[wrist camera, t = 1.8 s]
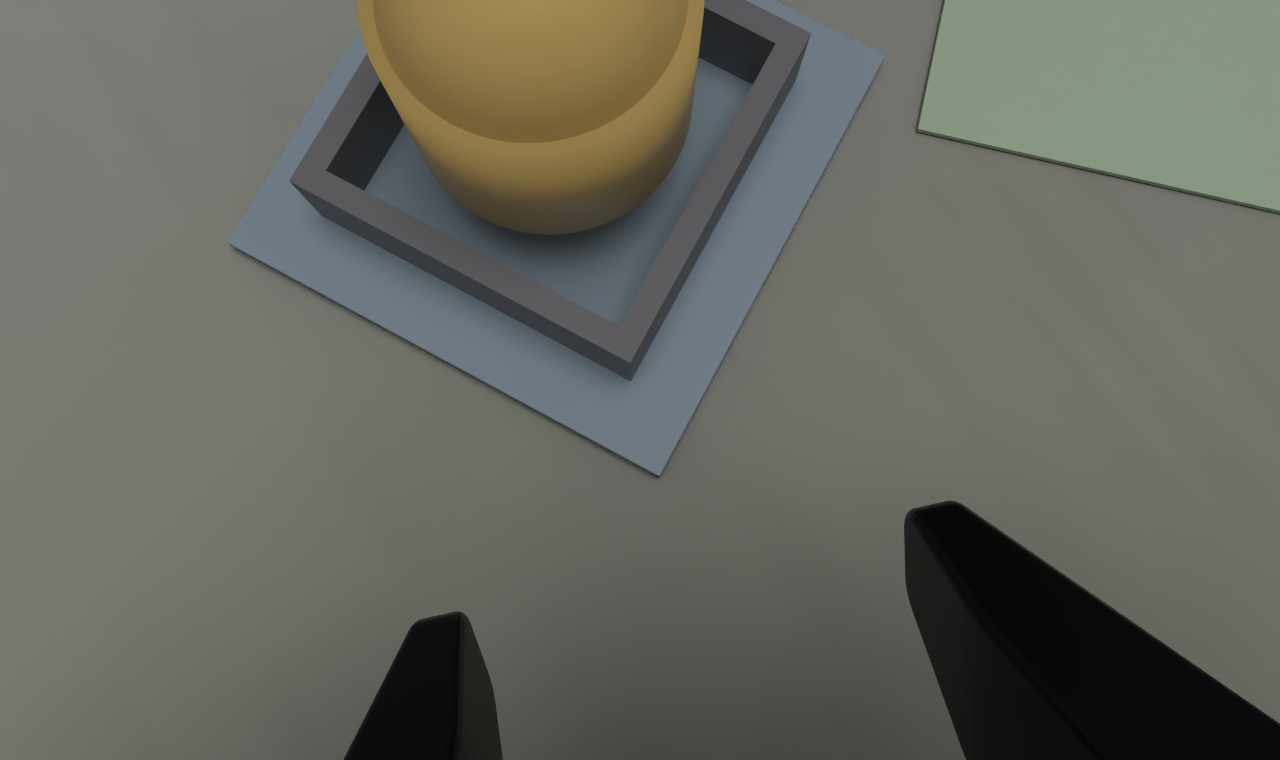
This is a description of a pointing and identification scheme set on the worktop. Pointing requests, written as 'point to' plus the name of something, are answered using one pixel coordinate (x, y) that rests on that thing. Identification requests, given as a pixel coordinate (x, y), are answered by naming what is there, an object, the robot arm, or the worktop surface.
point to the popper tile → (574, 234)
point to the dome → (540, 100)
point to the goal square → (1118, 89)
